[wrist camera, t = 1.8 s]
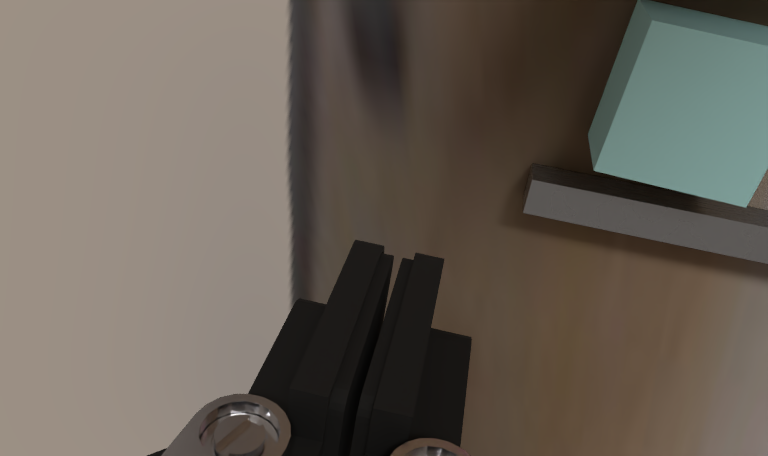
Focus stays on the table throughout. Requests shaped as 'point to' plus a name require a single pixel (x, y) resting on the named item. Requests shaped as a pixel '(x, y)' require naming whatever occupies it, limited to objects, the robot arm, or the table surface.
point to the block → (686, 104)
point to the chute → (647, 212)
